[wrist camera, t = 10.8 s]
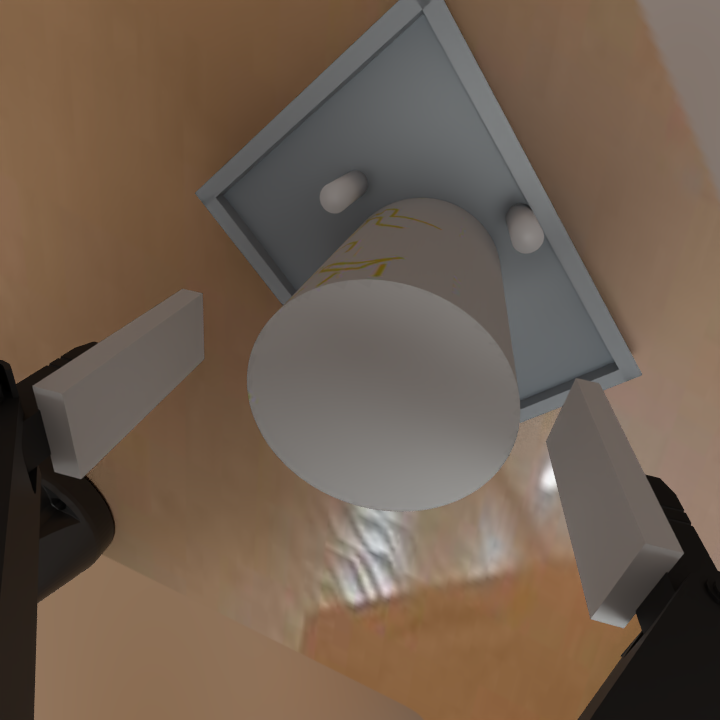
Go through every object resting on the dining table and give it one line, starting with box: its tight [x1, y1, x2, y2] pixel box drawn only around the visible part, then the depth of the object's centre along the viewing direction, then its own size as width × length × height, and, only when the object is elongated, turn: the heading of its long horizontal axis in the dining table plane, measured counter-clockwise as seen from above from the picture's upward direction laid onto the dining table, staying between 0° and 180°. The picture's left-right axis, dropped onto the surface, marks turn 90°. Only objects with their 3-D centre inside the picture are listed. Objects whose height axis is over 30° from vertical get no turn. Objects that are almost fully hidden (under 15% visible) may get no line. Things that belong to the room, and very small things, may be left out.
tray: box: [195, 0, 642, 423], centre depth 23 cm, size 20×14×5 cm
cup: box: [247, 198, 520, 512], centre depth 19 cm, size 8×8×12 cm
